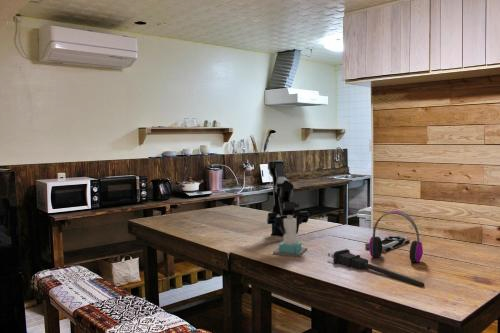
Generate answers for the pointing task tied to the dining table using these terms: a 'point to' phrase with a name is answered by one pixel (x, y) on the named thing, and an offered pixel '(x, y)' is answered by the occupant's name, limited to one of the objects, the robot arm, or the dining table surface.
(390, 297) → the dining table surface
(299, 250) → the holder board
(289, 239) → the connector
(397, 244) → the graphics card
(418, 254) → the headphones
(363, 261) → the electrical plug
